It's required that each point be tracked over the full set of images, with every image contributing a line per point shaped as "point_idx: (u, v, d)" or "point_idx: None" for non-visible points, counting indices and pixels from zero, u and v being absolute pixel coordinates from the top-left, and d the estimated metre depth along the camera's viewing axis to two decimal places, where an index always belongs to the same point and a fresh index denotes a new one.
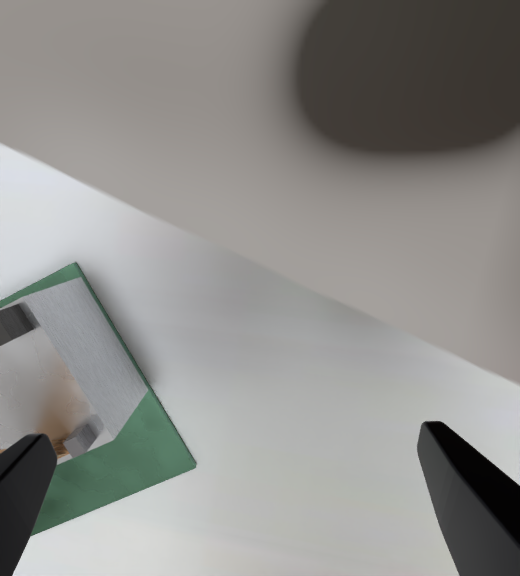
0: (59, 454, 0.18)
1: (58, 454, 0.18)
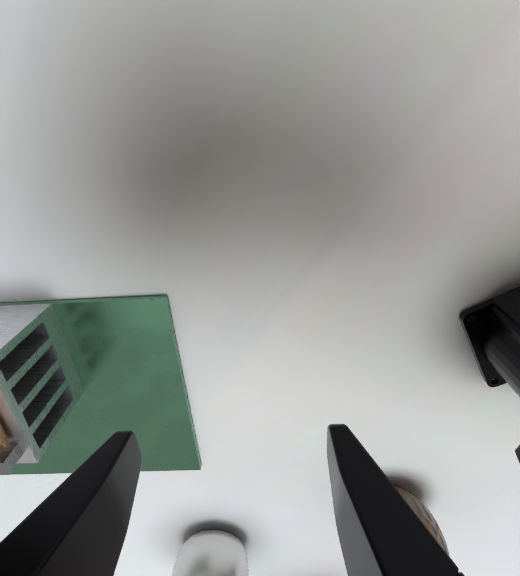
0: None
1: None
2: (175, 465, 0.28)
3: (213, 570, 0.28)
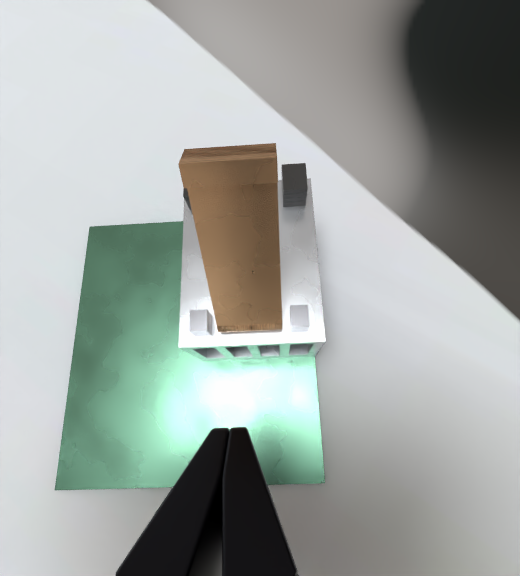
0: (280, 315, 0.16)
1: (281, 314, 0.16)
2: (68, 453, 0.21)
3: None
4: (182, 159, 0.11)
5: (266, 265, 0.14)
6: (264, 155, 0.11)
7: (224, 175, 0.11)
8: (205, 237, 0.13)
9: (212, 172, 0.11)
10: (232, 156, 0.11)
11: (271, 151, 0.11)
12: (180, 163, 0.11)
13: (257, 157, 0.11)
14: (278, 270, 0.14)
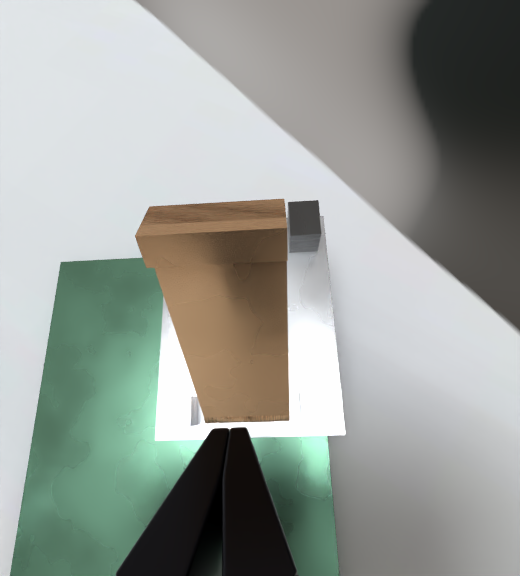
0: (287, 407, 0.12)
1: (288, 405, 0.12)
2: (25, 549, 0.17)
3: None
4: (142, 227, 0.07)
5: (268, 355, 0.10)
6: (267, 223, 0.07)
7: (206, 251, 0.07)
8: (183, 323, 0.09)
9: (188, 247, 0.07)
10: (218, 223, 0.07)
11: (278, 214, 0.07)
12: (138, 234, 0.07)
13: (256, 227, 0.07)
14: (285, 360, 0.10)
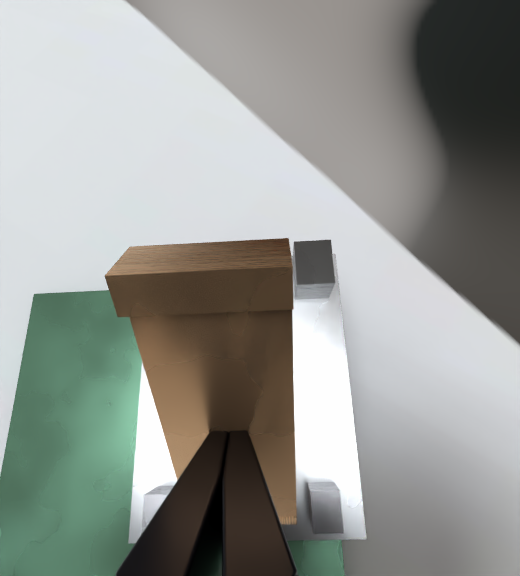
0: (294, 505, 0.09)
1: (295, 503, 0.09)
2: None
3: None
4: (116, 266, 0.06)
5: (270, 434, 0.08)
6: (268, 262, 0.06)
7: (192, 296, 0.06)
8: (164, 391, 0.07)
9: (169, 291, 0.06)
10: (209, 262, 0.06)
11: (281, 253, 0.06)
12: (109, 274, 0.06)
13: (254, 266, 0.06)
14: (291, 441, 0.08)
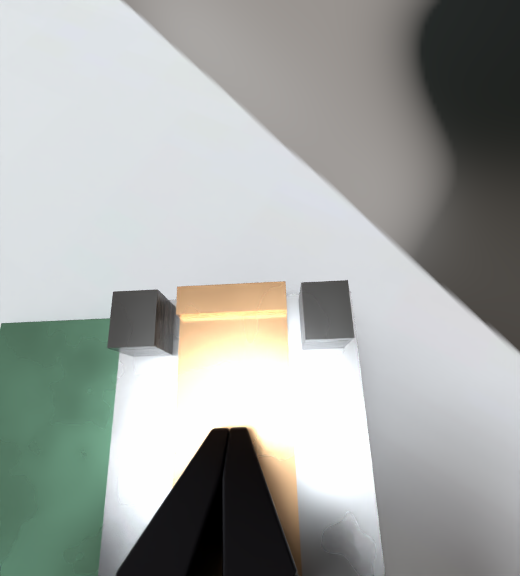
0: None
1: None
2: None
3: None
4: None
5: (271, 457, 0.09)
6: (271, 284, 0.10)
7: (225, 300, 0.10)
8: (187, 397, 0.09)
9: (212, 296, 0.10)
10: None
11: None
12: (179, 287, 0.10)
13: (263, 283, 0.10)
14: (292, 469, 0.08)
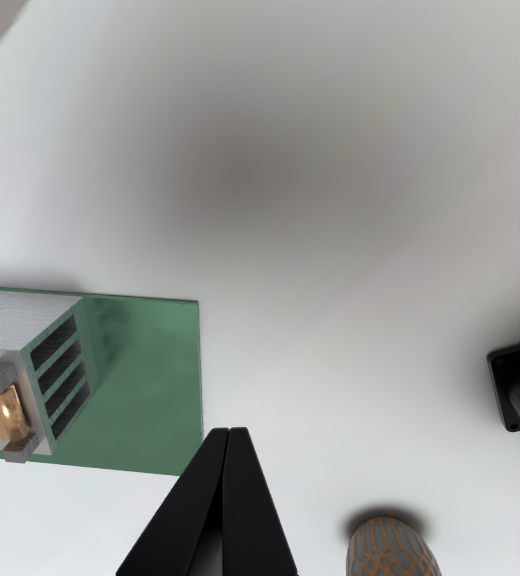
0: None
1: None
2: (179, 471, 0.28)
3: None
4: None
5: None
6: None
7: None
8: None
9: None
10: None
11: None
12: None
13: None
14: None
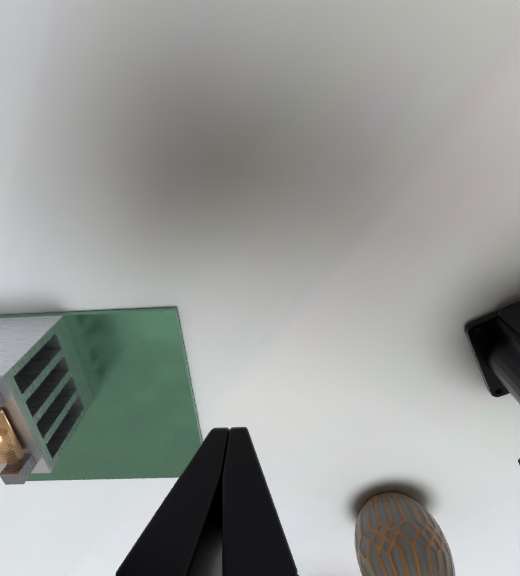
0: None
1: None
2: (182, 472, 0.28)
3: None
4: None
5: None
6: None
7: None
8: None
9: None
10: None
11: None
12: None
13: None
14: None
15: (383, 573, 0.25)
